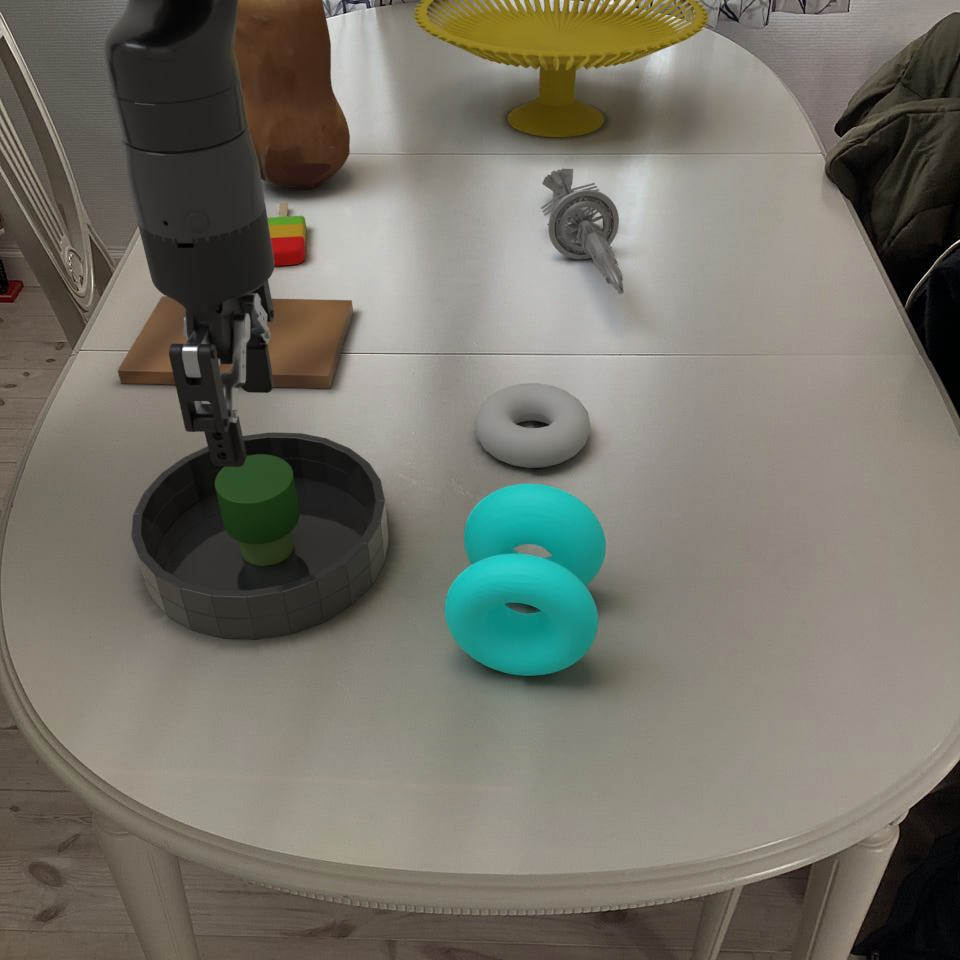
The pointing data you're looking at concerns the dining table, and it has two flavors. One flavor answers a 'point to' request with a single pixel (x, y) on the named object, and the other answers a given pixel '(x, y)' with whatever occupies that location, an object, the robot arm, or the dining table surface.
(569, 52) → the cake stand
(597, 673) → the dining table surface
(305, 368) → the board
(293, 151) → the butternut squash
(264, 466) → the green cylinder
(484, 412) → the donut
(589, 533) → the donuts
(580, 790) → the dining table surface
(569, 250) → the spaceship
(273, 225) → the popsicle
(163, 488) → the pan
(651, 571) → the dining table surface
